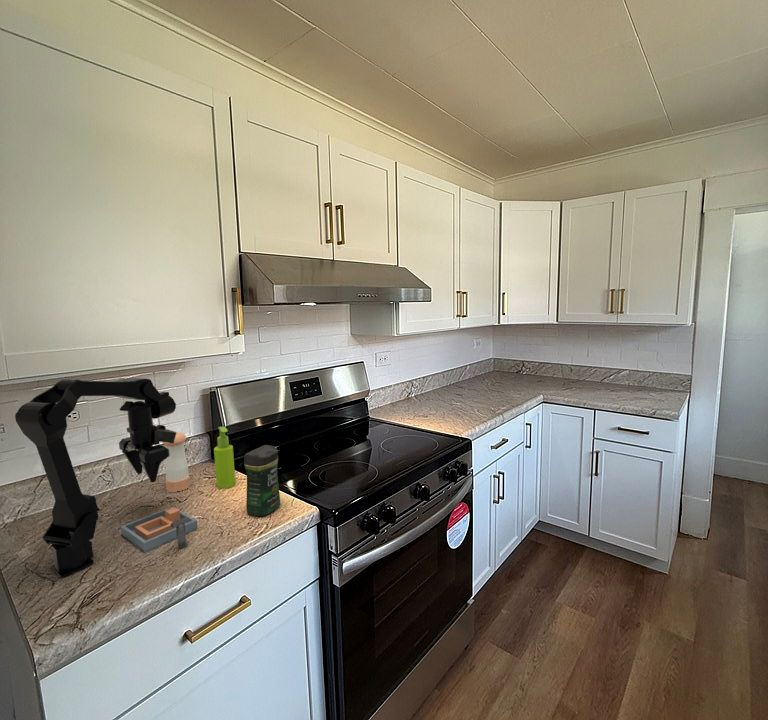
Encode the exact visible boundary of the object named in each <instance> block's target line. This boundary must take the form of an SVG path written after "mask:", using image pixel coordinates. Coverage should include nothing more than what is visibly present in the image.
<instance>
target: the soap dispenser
mask: <svg viewBox="0 0 768 720" xmlns="http://www.w3.org/2000/svg"><path fill="white" fill-rule="evenodd" d="M218 430H219V436H218V437H216V438H217V439H216V440H217V445H216V446H215V447H214V448H213V454H214V466H215V467H214V470H215V482H216V488H217V487H218V488H217V489H219V488H221V489H220V490H224V489H223V488H228V489H230V487H231V488H233V487H235V486H234V485H236V472H235V458H234V457H235V455H234V446H233V445H232V444H229V443H230V442H229V436H228V435H226V433H228V432H229V431H228V428H227V427H226V426H218Z"/></svg>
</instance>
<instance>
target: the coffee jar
mask: <svg viewBox="0 0 768 720" xmlns="http://www.w3.org/2000/svg"><path fill="white" fill-rule="evenodd" d="M278 453H279V452H278V449H277V447H276V446H274V445H268V444H264V445H261V446H260V447H258V448H255V449H252V450H251V451H249V452H247V453H245V454H244V460H243V462H244V463H243V464H244V468H245V473H246V504H245V505H246V506H245V507H246V512H247V514H250V516H254V517H261V516H263V517H264V516H267V515H269V514H271V513H272V512H274V511H276V510H277V509H278V508H279V507H280V505H281V494H280V487H279V486H280V485H279V479H278V478H279V477H278V463H279V454H278Z"/></svg>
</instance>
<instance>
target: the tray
mask: <svg viewBox="0 0 768 720" xmlns="http://www.w3.org/2000/svg"><path fill="white" fill-rule="evenodd" d="M171 508H175V507H174V506H170V507H168V508H165V509H162V510H160V511H156V512H155V513H152V514H150V515H147V516H144V517H142V518H139V519H137V520H134V521H132V522H129V523H126V524H123V525H121V526H120V529H121V530H120V532H121V536H122V537H123V538H124V539H126V540H127V541H129V542H130V543H131V544H133V545H134V546H135V547H136V548H138V549H140V550H141V551H142V552H144V553H148V552H150V551H152V550H154V549H156V548H158V547H161V546H163V545H165V544H167V543H170V542H172V541H174V540H177V533H176V527H175V528H174V529H172V530H170V531H168V532H165V533H163V534H161V535H158V536H156V537H154V538H151V539H149V540H147V541H145V540H144V539H143V538H141V537H140V536H138V535H137V534H135V527H136V526H138V525H140V524H143V523H145V522H148V521H150V520H153V519H155V518H158V517H160V516H163V517H165V511H166V510H169V509H171ZM185 517H188V518H189V521H188V522H186V523H185V532H186V535H187V534H189V533H192V532H194V531H197V530H198V529H199V528H198V520H197V519H196V518H194V517H192V516H190V515H188V514H186V513H184V512H183V511H181V510H180V519H182V518H185ZM161 527H162V526H161V525H160V526H158V527H156V528H153V529H151V530H148V532H151V531H153V530H156V529H158V528H161Z"/></svg>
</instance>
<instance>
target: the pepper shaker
mask: <svg viewBox="0 0 768 720" xmlns="http://www.w3.org/2000/svg"><path fill="white" fill-rule="evenodd" d="M174 432H176V436H175V440H174V443H169V442H162V444H163V446H164V447H166V448H167V449H169V457H167V458H166V459H165V476H166V478H165V490H167V491H166V492H168V491H169V492H168V493H178V492H177V491H180V492H183V491H186V490H187V488H188V487H189V486H190V484H191V477H190V474H189V465H188V461H187V458H186V453H185V452H186V449H185V442H186V441H187V436H186V435H185V434H184V433H182V432H178V431H176V430H174ZM190 487H191V486H190ZM190 487H189V488H190ZM189 488H188V489H189ZM185 489H186V490H185ZM182 490H183V491H182Z"/></svg>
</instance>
